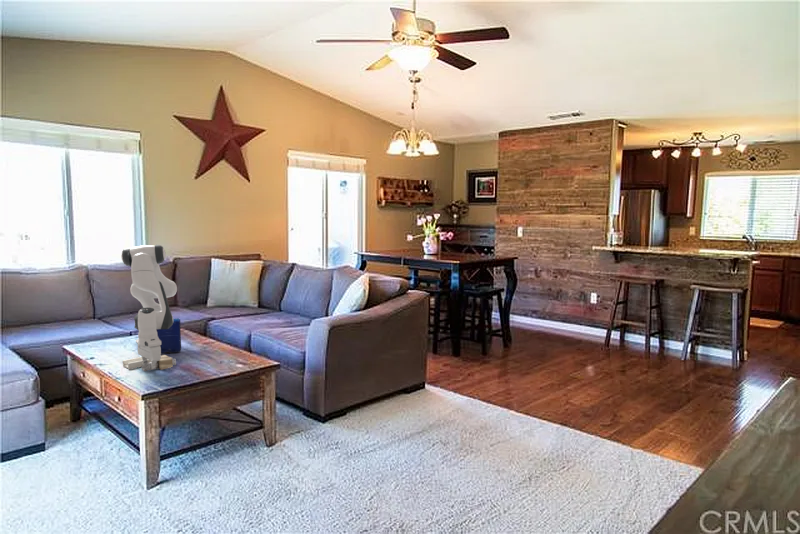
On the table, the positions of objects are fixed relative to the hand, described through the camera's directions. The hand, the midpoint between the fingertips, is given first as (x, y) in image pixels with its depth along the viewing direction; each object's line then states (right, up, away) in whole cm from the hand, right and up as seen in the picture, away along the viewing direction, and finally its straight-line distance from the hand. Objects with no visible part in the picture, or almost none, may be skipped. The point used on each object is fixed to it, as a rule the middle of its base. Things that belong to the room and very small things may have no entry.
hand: (149, 366), depth 268 cm
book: (-4, +2, +31) cm, 31 cm away
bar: (+3, -2, +4) cm, 6 cm away
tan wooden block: (+5, -1, +5) cm, 7 cm away
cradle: (-10, -1, +7) cm, 12 cm away
